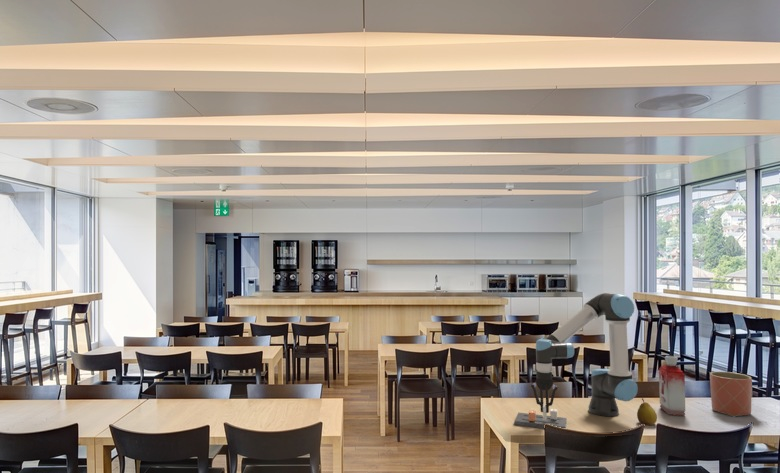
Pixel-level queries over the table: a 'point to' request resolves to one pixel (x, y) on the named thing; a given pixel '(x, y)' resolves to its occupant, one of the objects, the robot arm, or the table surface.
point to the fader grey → (553, 414)
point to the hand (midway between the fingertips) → (544, 419)
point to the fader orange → (532, 415)
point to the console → (539, 421)
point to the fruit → (646, 414)
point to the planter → (731, 393)
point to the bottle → (672, 387)
